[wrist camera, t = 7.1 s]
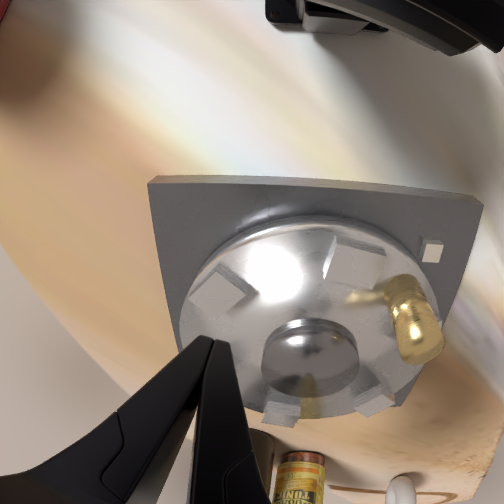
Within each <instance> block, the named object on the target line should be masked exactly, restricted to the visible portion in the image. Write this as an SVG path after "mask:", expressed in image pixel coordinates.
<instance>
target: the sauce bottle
mask: <svg viewBox="0 0 504 504" xmlns="http://www.w3.org/2000/svg"><path fill="white" fill-rule="evenodd" d="M324 464H325V460H324V457H323V456H322V455H320V454H316V453H312V452H293V453H289V454H285V455H283V456H282V458H281V460H280V465H279V466H278V469H277V476H276V482H275V488H274V494H273V501H272V504H323V493H324V480H325V468H324Z"/></svg>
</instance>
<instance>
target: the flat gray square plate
mask: <svg viewBox="0 0 504 504" xmlns="http://www.w3.org/2000/svg"><path fill="white" fill-rule="evenodd" d="M147 186H148V194H149V201H150V208H151V215H152V221H153V228H154V234H155V240H156V246H157V252H158V257H159V263H160V268H161V274H162V279H163V284H164V289H165V294H166V299H167V303H168V308H169V313H170V317H171V322H172V326H173V331H174V335H175V339H176V343H177V347H178V351H179V353H180V352H181V351H182V350H183V347H182V342H181V338H180V326H179V322H180V315H181V310H182V307H183V304H184V301H185V298H186V296H187V294H188V292H189V290H190V288H191V286H192V284H193V281H194V279H195V277H196V276H197V274H198V272H199V271H200V269H201V267H202V266H203V264H204V263H205V262H206V261H207V260H208V258H209V257H210V256H211V255H212V254H213V253H214V252H215V251H216V250H217V249H218V248H220V247H221V246H222V245H223V244H224V243H226V242H227V241H229V240H230V239H232V238H233V237H235V236H236V235H238V234H240V233H242V232H244V231H246V230H248V229H250V228H252V227H254V226H257V225H260V224H263V223H266V222H269V221H272V220H276V219H281V218H287V217H292V216H303V215H325V216H337V217H342V218H347V219H352V220H356V221H359V222H362V223H365V224H368V225H370V226H373V227H375V228H377V229H379V230H381V231H383V232H385V233H386V234H388V235H390V236H391V237H393V238H394V239H395V240H397V241H398V242H399V243H401V244H402V245H403V246H404V247H405V248H406V249H407V250H408V251H409V252H410V253H411V254H412V255H413V257H414V258H415V260H416V261H417V263H418V264H419V265H420V267H421V269H422V271H423V272H424V274H425V276H426V278H427V280H428V282H429V284H430V286H431V288H432V290H433V293H434V295H435V298H436V301H437V305H438V310H439V315H440V318H441V320H442V326H443V324H444V322H445V319H446V317H447V315H448V312H449V310H450V308H451V305H452V303H453V300H454V298H455V295H456V292H457V290H458V287H459V285H460V282H461V279H462V276H463V273H464V271H465V268H466V265H467V262H468V259H469V256H470V253H471V249H472V246H473V243H474V240H475V236H476V233H477V229H478V226H479V222H480V218H481V214H482V210H483V206H484V205H483V204H482V203H481V202H480V201H479V200H477V199H476V198H475V197H474V196H471V195H464V194H458V193H451V192H444V191H437V190H429V189H421V188H413V187H404V186H395V185H386V184H376V183H365V182H354V181H341V180H327V179H312V178H293V177H270V176H231V175H177V176H156V177H155V178H154V179H152V180H151V181H150V182H148V183H147ZM441 329H442V328H441ZM423 366H424V365H423ZM422 368H423V367H422ZM422 368H421V370H422ZM421 370H420V371H419V372H418V373H417V374H416V375H415V376H414V378H413V379H412V380H411V381H409V382H408V383H407V384H406V385H405V386H404V387H403V388H401V389H400V390H398V391H397V392H396V393H394V397H395V404H394V405H392V406H390V407H396V406H401V405H402V403H403V402H404V400H405V398H406V397H407V395H408V393H409V392H410V390H411V388H412V386H413V384H414V383H415V381H416V379H417V377H418V375H419V373H420V372H421Z"/></svg>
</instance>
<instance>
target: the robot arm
mask: <svg viewBox="0 0 504 504" xmlns="http://www.w3.org/2000/svg"><path fill="white" fill-rule="evenodd" d="M274 12H277V13H279V14H280V17H279V18H278V19H273V18H271V14H272V13H274ZM265 15H266V19H267V20H268V22H270V23H271V24H275V25H302V28H303V29H304V30H306V31H307V32H322V33H334V34H344V35H355V34H356V33H357V32H359V31H360V30H361V31H368V32H374V33H385V32H387V31H388V30H389V29H390V30H392V31H394V32H396V33H398V34H401V35H403V36H405V37H407V38H409V39H411V40H413V41H415V42H417V43H419V44H421V45H423V46H425V47H428V48H430V49H432V50H434V51H437V50H439V51H441V52H442V53H444V54H446V55H448V56H453V55H457V54H461V53H464V52H467V51H470V50H472V49H474V48H476V47H477V46H479V45H481V44H483V45H484V46H486V47H487V48H488V49H490V50H491V51H493V52H494V53H498V52H500V51H501V49H502V48H503V47H504V0H265ZM377 24H378V25H380V26H383V27H384V28H380V27H378V26H377ZM197 407H198V408H197ZM196 410H197V414H196V422H195V430H194V438H193V446H192V455H191V464H190V473H189V483H188V492H187V503H186V504H271V502H270V499H269V497H268V494H267V492H266V489H265V486H264V484H263V481H262V477H261V474H260V471H259V467H258V464H257V460H256V456H255V452H254V451H253V450H254V448H253V444H252V440H251V436H250V431H249V427H248V423H247V419H246V414H245V410H244V406H243V401H242V397H241V392H240V388H239V383H238V379H237V374H236V369H235V365H234V360H233V355H232V351H231V346H230V343H229V342H227V341H223V340H219V339H215V340H214V339H213V338H212V337H208V336H204V335H199V336H197V337H196V338H195V339H194V340H193V341H192V342H191V343H190V344H189V345H188V346H187V347H185V348H184V349H183V350H182V351H181V352H180V353H179V354H178V355H177V356H176V357H175V358H173V359H172V360H171V361H170V362H169V363H168V364H167V365H166V366H165V367H164V368H163V369H161V370H160V371H159V372H158V373H157V374H156V375H155V376H154V377H153V378H152V379H150V380H149V381H148V382H147V383H146V384H145V385H144V386H143V387H142V388H141V389H139V390H138V391H137V392H136V393H135V394H134V395H133V396H132V397H130V398H129V399H128V400H127V401H126V402H125V403H124V404H123V405H122V406H120V407H119V408H118V409H117V412H113V413H112V414H111V415H110V416H109V417H108V418H107V419H106V420H104V421H103V422H102V423H101V424H100V425H98V426H97V427H96V428H95V429H93V430H92V431H91V432H90V433H88V434H87V435H86V436H84V437H82V438H81V439H80V440H78V441H77V442H75V443H74V444H72V445H70V446H69V447H67V448H66V449H64V450H63V451H61V452H60V453H58V454H56V455H55V456H53V457H51V458H50V459H49V460H47V461H45V462H43V463H42V464H40V465H38V466H36V467H34V468H32V469H30V470H27V471H25V472H21V473H17V474H12V475H5V476H0V504H156V502H157V500H158V498H159V496H160V493H161V491H162V489H163V487H164V484H165V482H166V480H167V478H168V475H169V473H170V470H171V468H172V466H173V464H174V461H175V459H176V457H177V455H178V452H179V450H180V448H181V445H182V443H183V441H184V438H185V436H186V434H187V431H188V429H189V427H190V424H191V422H192V420H193V417H194V415H195V412H196Z"/></svg>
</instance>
